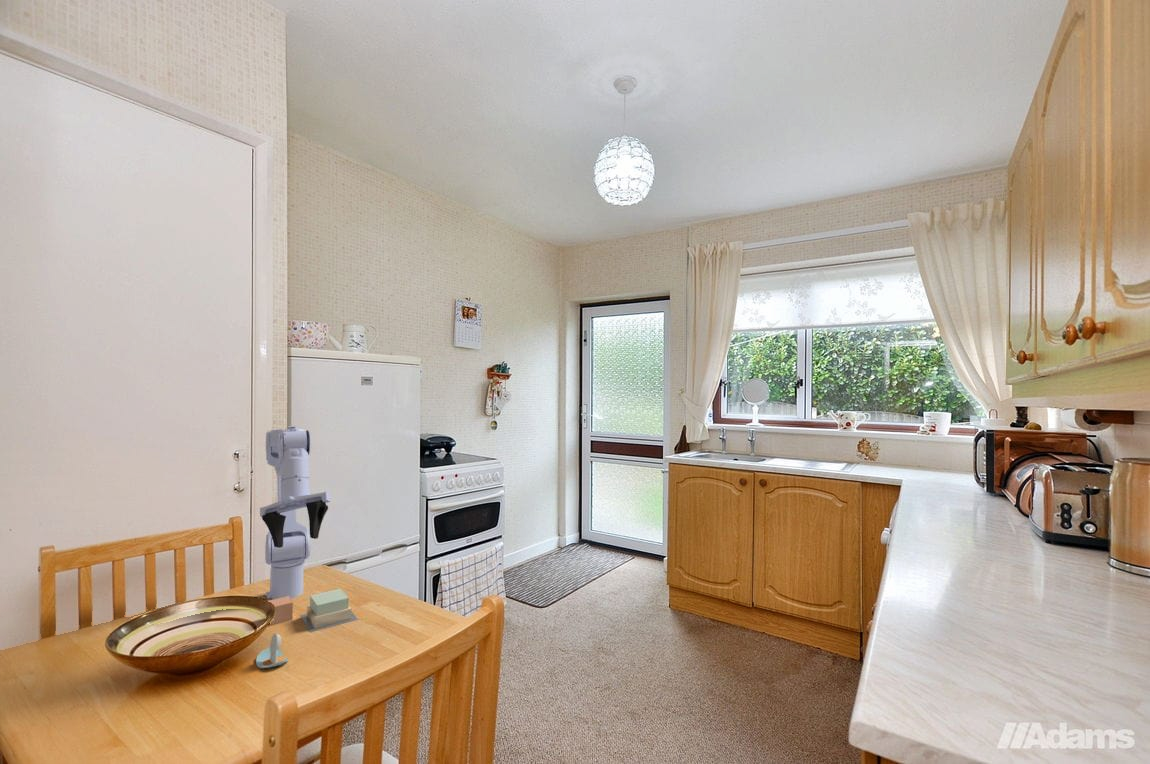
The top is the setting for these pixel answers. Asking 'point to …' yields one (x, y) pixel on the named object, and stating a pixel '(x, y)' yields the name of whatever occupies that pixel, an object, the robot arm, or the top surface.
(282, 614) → the terracotta block
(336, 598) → the sage slab
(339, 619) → the oak slab
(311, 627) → the slate board
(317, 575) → the top surface
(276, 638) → the pacifier
